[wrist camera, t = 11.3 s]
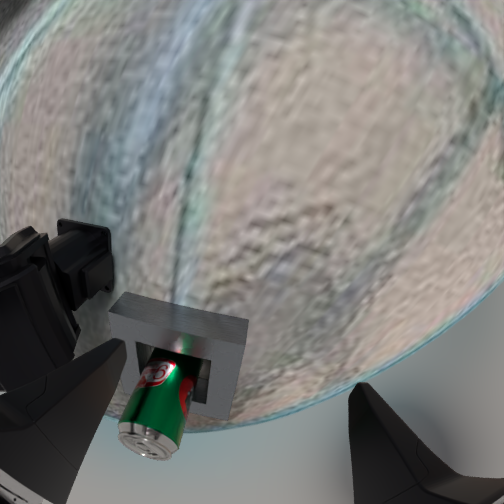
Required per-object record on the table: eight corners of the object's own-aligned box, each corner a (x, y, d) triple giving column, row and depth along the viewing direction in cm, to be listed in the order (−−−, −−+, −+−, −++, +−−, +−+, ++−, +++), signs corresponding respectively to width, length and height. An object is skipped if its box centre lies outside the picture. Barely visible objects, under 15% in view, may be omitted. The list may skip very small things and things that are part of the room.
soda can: (181, 324, 24) (136, 429, 13) (214, 358, 26) (189, 461, 15) (148, 342, 26) (102, 432, 15) (180, 372, 27) (149, 463, 16)
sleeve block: (134, 372, 28) (124, 393, 25) (125, 291, 24) (107, 311, 20) (231, 397, 28) (227, 420, 25) (248, 319, 24) (245, 345, 20)
